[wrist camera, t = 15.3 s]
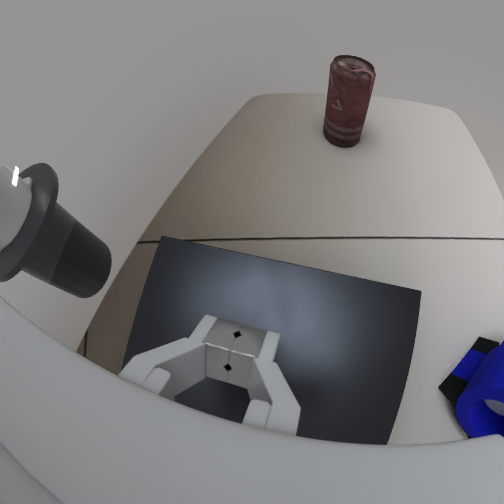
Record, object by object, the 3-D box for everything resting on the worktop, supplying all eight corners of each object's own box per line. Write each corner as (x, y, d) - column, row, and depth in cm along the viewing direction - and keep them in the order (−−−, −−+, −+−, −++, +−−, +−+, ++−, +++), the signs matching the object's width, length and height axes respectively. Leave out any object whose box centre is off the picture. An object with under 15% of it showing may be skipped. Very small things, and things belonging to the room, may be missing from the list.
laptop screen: (164, 238, 31) (161, 235, 30) (418, 292, 26) (421, 290, 25) (118, 403, 25) (114, 404, 24) (372, 470, 20) (374, 473, 19)
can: (349, 155, 37) (366, 79, 25) (315, 134, 40) (322, 60, 27) (367, 136, 39) (385, 67, 26) (335, 118, 41) (345, 50, 28)
